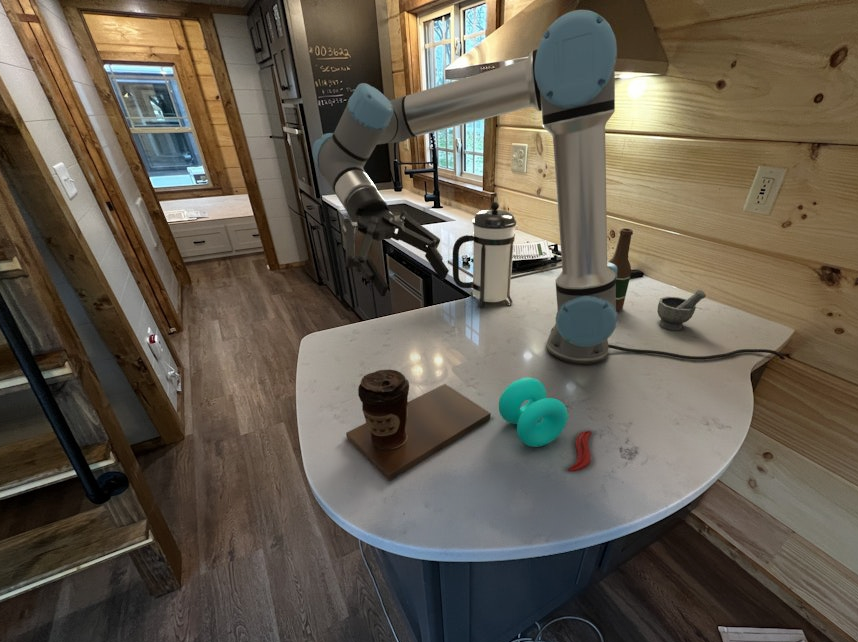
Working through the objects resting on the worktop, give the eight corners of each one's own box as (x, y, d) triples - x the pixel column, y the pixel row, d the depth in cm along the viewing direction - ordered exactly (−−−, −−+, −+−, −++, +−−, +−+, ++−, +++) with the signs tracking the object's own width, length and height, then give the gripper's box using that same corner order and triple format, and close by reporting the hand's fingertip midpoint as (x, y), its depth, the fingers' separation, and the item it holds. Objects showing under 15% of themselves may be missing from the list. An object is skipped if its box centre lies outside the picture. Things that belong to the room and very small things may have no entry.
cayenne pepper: (579, 476, 68) (581, 468, 67) (555, 464, 70) (556, 456, 69) (607, 439, 76) (609, 431, 75) (584, 429, 78) (586, 421, 77)
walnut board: (445, 389, 89) (444, 383, 88) (490, 418, 81) (490, 413, 80) (347, 438, 75) (345, 432, 74) (389, 481, 67) (388, 474, 66)
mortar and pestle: (647, 324, 118) (658, 285, 111) (660, 315, 123) (671, 277, 117) (686, 337, 111) (700, 296, 105) (699, 327, 117) (713, 287, 110)
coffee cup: (403, 459, 69) (397, 398, 62) (357, 452, 70) (346, 391, 63) (418, 427, 76) (414, 368, 69) (377, 420, 77) (368, 363, 70)
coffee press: (482, 287, 141) (485, 195, 125) (522, 298, 133) (530, 201, 117) (451, 303, 129) (450, 203, 113) (493, 316, 121) (499, 210, 105)
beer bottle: (625, 306, 129) (644, 228, 116) (618, 315, 123) (637, 234, 110) (601, 301, 132) (616, 225, 119) (593, 309, 126) (609, 230, 113)
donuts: (519, 456, 72) (524, 412, 66) (494, 423, 80) (497, 381, 74) (566, 441, 75) (575, 398, 70) (538, 411, 83) (543, 369, 77)
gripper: (410, 209, 90) (460, 281, 85) (299, 224, 76) (352, 312, 72) (419, 180, 84) (474, 257, 79) (301, 191, 70) (359, 285, 66)
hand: (416, 283), depth 75 cm, fingers open, 13 cm apart
